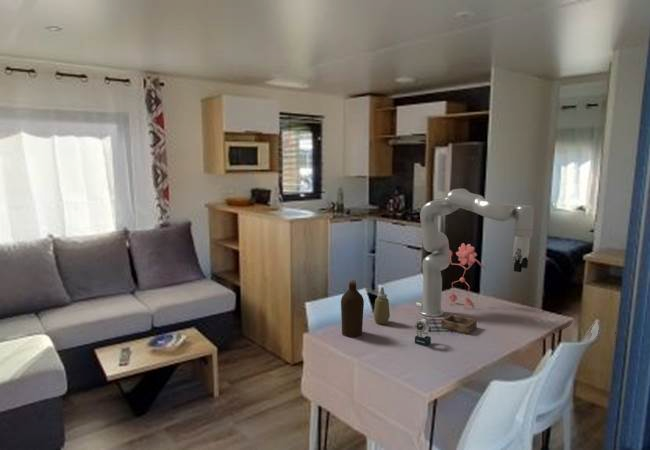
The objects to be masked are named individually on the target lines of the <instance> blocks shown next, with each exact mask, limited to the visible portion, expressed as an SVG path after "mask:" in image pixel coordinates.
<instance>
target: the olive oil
mask: <svg viewBox="0 0 650 450" xmlns="http://www.w3.org/2000/svg"><path fill="white" fill-rule="evenodd" d="M348 283H349V284H348V289H347V290H346V292H344V294H342V296H341V299H340V310H341V312H340V314H341V315H340V316H341V335H342V336H344V335H345V337H347V336H348V338H357V337H360V336H362V334H363V325H364V324H363V323H364V320H363V319H364V305H365V299H364V296H363V295H362V294H361V293H360V292H359V290H357V281H356V280H349V281H348Z"/></svg>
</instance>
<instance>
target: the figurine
mask: <svg viewBox="0 0 650 450" xmlns="http://www.w3.org/2000/svg"><path fill="white" fill-rule="evenodd" d="M475 250H476V249H475V247H474V246H472V245H471V243H468V244H467V245H466V244H465V243H464V242H463V243H461V244H460V246H459V247H458V251H456V252H455V254H456V256H457V258H458V259H457V260H458V261H459V262H460V263H452V257H453V251H452V250H451V249H449V252H450V265H453V266H455V265H456V266H460V267H461V268H462V269H464V271H463V275H462V276H461V277H460V278H459V280H455V281H453V282H452V283H451V289H452V290H454V286H453V284H455V283H457V282H460V283H465V284H466V285H467V286H468V289H470V285H469V284H468V283H467V282H466V279H465V277H464V276H465V274H466V270H467V271H468V270H469V269H470V268H471V267H472V266H473V264H474V263H475V262H476V263H477V264H478V265H479V266H480V267H481V268H482V269H484V270H486V268H485V266H484V265H483V264H482V263H481V262H480V261H479V260H478V259H477V258H476V257H477V256H478V254H477V252H475ZM465 265H468V267H465ZM469 295H470V290H468V293H467V297H465V300H464V299H463V301H465V304H464V306H463V309H464V310H465V309H466V306H467V304H468V305H469V306H471V307H472V308H475V307H474V304H476V305H477V303H476V302H473V301H472V299H470V298H469ZM449 299H450V303H449V306H451V305H452V303H455V302H456V301H457V300H458V298H457V295H456V294H455V293H454V291H452V293H451V294H450V296H449Z"/></svg>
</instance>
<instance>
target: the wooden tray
mask: <svg viewBox="0 0 650 450" xmlns="http://www.w3.org/2000/svg"><path fill="white" fill-rule="evenodd" d="M477 324H478V320H477V319H473V318H469V317H465V316H460V315H455V314H449V315H448V316H446V317H445V318H442V319H441V329H442V328H443V329H442V330H446V329H447V330H446V331H450V332H455V333H459V334H463V335H467V336H468V335H470V334H471V333H472V332H473V331H475V330H476V329H477V328H478V327H477Z"/></svg>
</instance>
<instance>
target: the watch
mask: <svg viewBox="0 0 650 450" xmlns="http://www.w3.org/2000/svg"><path fill="white" fill-rule="evenodd" d="M430 328H431V327H430V321H429V319H425V318H420V319H419V320H418V321H417V322H416V323H415V324H414V330H415V333H416V335H415V336H414V344H416V345H419V346H423V347H424V348H425V347H426V348H427V347H428V346H430V345H432V344H431V343H432V337H431V336H429V333H430Z"/></svg>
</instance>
